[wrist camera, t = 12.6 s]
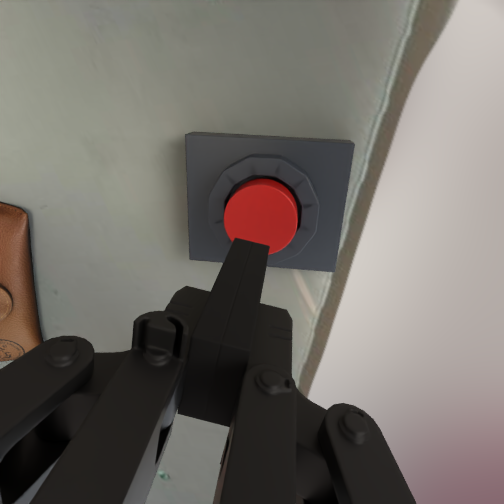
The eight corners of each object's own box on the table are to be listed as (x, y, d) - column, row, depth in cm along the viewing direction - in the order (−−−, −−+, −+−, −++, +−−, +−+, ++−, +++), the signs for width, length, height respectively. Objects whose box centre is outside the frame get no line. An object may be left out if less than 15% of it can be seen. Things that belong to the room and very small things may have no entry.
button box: (350, 140, 26) (359, 146, 22) (332, 261, 30) (337, 283, 26) (193, 131, 27) (177, 136, 23) (196, 249, 31) (183, 269, 27)
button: (300, 180, 24) (301, 187, 22) (294, 247, 26) (294, 258, 24) (229, 175, 24) (223, 182, 22) (228, 241, 26) (223, 252, 24)
